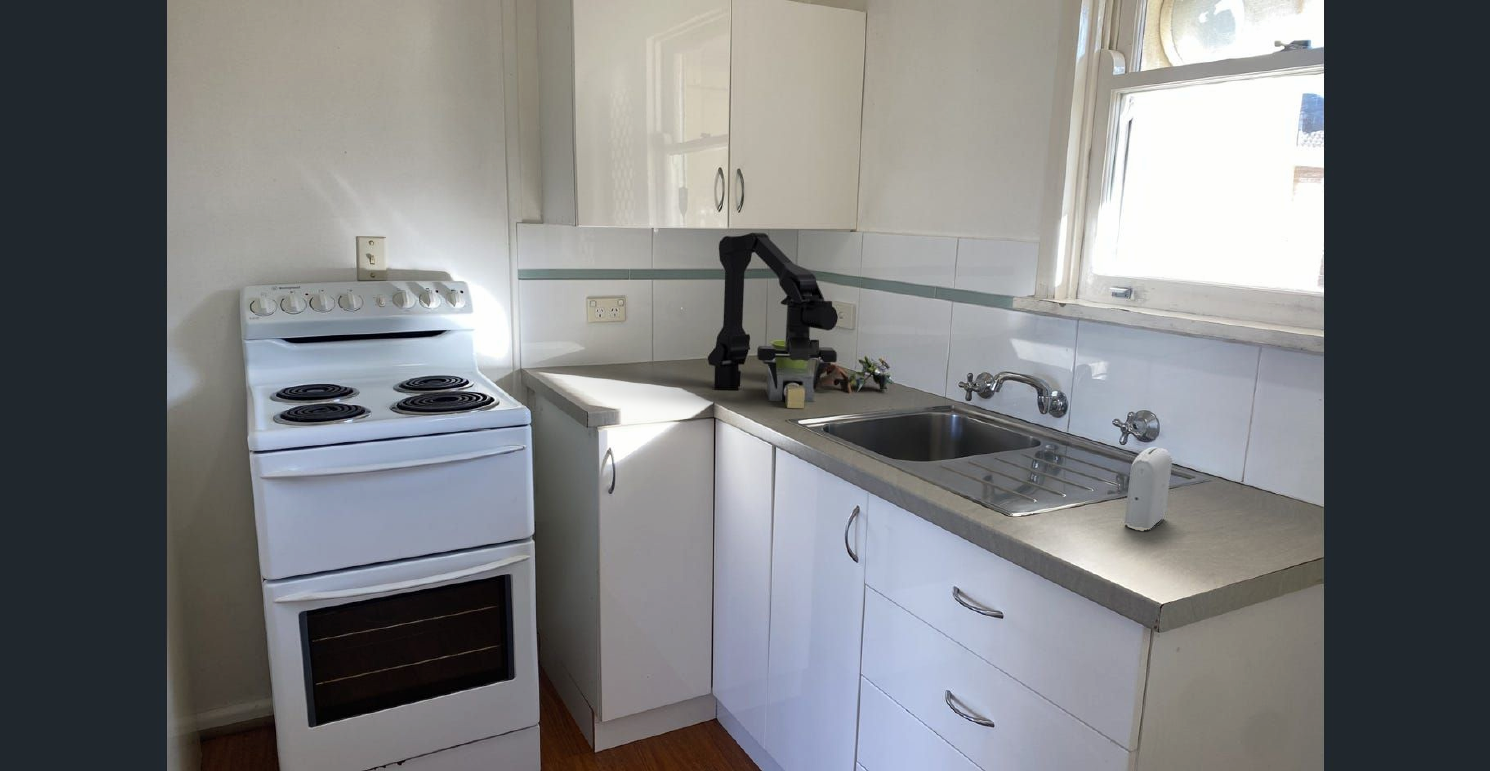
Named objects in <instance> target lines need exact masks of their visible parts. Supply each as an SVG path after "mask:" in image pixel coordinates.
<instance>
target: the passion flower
mask: <svg viewBox="0 0 1490 771" xmlns="http://www.w3.org/2000/svg"><path fill="white" fill-rule="evenodd" d="M878 361H879V362H880V363H881V365H880V363H878V362H877V361H875V360H874V359H873V358H871V357H869V356H868V355H865V356H864V360H863V359H861V357H859V358H858V362H859V364H861V366H862V370H861V371H857V372H855V373H851V372H849V371H848V369H846V368H845V369H844V371H845V373H846V374H847V373H848V374H849V375H850V376H849V377H848V378H849V381H850V386H853V383H855V382H856V385H855V386H856V388H858V389H857V391H856V393H858V392H859V391H860V389H861V388H862V387H864V386H865V384H866V383H867V381H868V379H869V378H870V377H872V379H873V382H874V383H875V384H877V385H879V386H878V387H879V390H880V391H881V392H885V391H888V387H887V384H889V385H893V384H894V383H895V382H894V381H893V380H892V377H891V374H890V373H889V372H887V371H886V370H889V369H890V368H891V366H890V365H889V364H888V362H887V361H886V360H884V359H883V357H882V358H878ZM867 373H868V376H867V377H866V378H864V377H865V376H866V375H865V374H867ZM884 390H885V391H884Z"/></svg>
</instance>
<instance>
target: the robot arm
mask: <svg viewBox="0 0 1490 771" xmlns="http://www.w3.org/2000/svg"><path fill="white" fill-rule="evenodd" d="M754 253H755V254H756V255H757V256H758V257H759V258H760V259H761V261H763V262H764V264H765V265H766V266H767V267H768V268H769V269H770V270H771V271H772V272H773V273H774V274H775V275H776V276H777V278H778V284H779V286H780V288H781V289H782V290H783V292H784V294H785V295H786V297H785V298H784V299H782V300H781V301H780V304H781V305H784V306H786V324H785V340H786V341H785V350H776V349H775V347H774V346H772V345H759V346H758V347H757V350H756V351H757V352H756V353H757V354H756V357H757V359H758V361H762V362H763V365H764V364H765V365H768V368H770V371H771V374H772V378H773V381H774V385H775V389H777V384H778V382H777V370H776V361H775V357H790V359H791V360H794V361H796V360H804V361H808V362H809V361H810V360H811V359H815V363H814V364H815V365H814V373H813V374H814V378H813V390H814V391H815V388H816V386H817V383H818V381H819V378H820V377H822V375H823V374H822V372H823V370H824V369H825V367H826V366H830V365H831V364H832V363H837V359H838V354H837V351H836V350H835V349H834V348H833V347H827V346H825V347H822V346H820V339H811V338H810V335H811V334H810V333H811V328H812V329H817V330H823V331H832V330H833V329H834V328H835V327H836V325H837V323H838V319H839V315H838V312H837V310H836V308H835V307H834V306H833V300H825V298H824V296H823V293H822V291H821V289H820V286H819V284H818V283H817V278H816V275H815V274H813V272H811V271H809V270H808V269H807V268H805V267H802V266H800V265H798V264H795V263H794V262H793V261H792V260H791V259H790V258H789V257H788V256H786V255H785V253H784V252H783V251H782V250H781V249H780V248H779V247H778V246H777V245H776V243H774V242H773V241H772V240H771V239H770V236H768V234H766V233H765V232H750V233H747V234H743V235H725V236H724V237H722V238H721V240H720V241H719V243H718V256H719V261H720V264H721V265H722V267H723V269H724V295H723V296H724V298H723V300H724V301H723V325H722V327H721V329H720V331H719V332H718V334H717V336H716V340H715V341H716V343H715V347H714V348H713V350H712V351H711V352H710V353H709V354H708V355H707V361H708V365H709V366H713V367H714V372H713V373H714V374H713V375H714V376H713V386H712V387H713V390H733V391H734V390H735V391H739V390H740V387H741V377H742V376H741V375H742V374H741V373H742V372H741V369H739V368H740V367H739V365H740V366H741V365H743V366H744V365H745V363H746V360H747V356H748V355H749V351H750V350H751V345H750V342H751V335H750V334H749V333H748V334H747V333H746V331H745V329H744V328H743V323H744V322H743V320H744V319H743V318H744V294H745V291H744V290H745V289H744V288H745V272H746V270H747V268H748V266H749V265H750V263H751V261H752V255H753V254H754ZM788 352H789V354H788Z"/></svg>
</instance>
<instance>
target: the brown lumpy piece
mask: <svg viewBox="0 0 1490 771" xmlns="http://www.w3.org/2000/svg"><path fill="white" fill-rule="evenodd" d="M825 373H826V375H825V376H820V378H819V381H818V383H817V386H816V388H815V390H816V391H817V390H818V388H822V387H827V386H834V387H838V385H840V389H841V390H848V391H847V392H848V394H851V393H852V389H851V383H850V381H849V378H850V377H849V376H848V374H847V372H846V373H845V370H844V369H842V368H840V367H839V366H838V365H837V364H835V363H831V365H830V366H826V367H825V369H824V370H823V372H822V374H821V375H823V374H825ZM815 390H814V391H815Z"/></svg>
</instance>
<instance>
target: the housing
mask: <svg viewBox="0 0 1490 771" xmlns="http://www.w3.org/2000/svg"><path fill="white" fill-rule="evenodd" d="M766 370H767V371H766V372H767V373H766V374H767V375H766V394H767V397H768V399H769V401H770V402H782V401H783V394H784V393H783V391H782V390H783V381H797V383H798V384H799V385H803V387H804V389H805V398H804V403H805V402H806V403H807V402H808V403H814V402H815V390H813V378H814V373H813V372H812V370H811V369H810V368H806V369H804V368H776V370H777V382H778V384H777V389H775V385H774V381H773V378H772V374H771V371H770V368H769V367H767V369H766Z"/></svg>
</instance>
